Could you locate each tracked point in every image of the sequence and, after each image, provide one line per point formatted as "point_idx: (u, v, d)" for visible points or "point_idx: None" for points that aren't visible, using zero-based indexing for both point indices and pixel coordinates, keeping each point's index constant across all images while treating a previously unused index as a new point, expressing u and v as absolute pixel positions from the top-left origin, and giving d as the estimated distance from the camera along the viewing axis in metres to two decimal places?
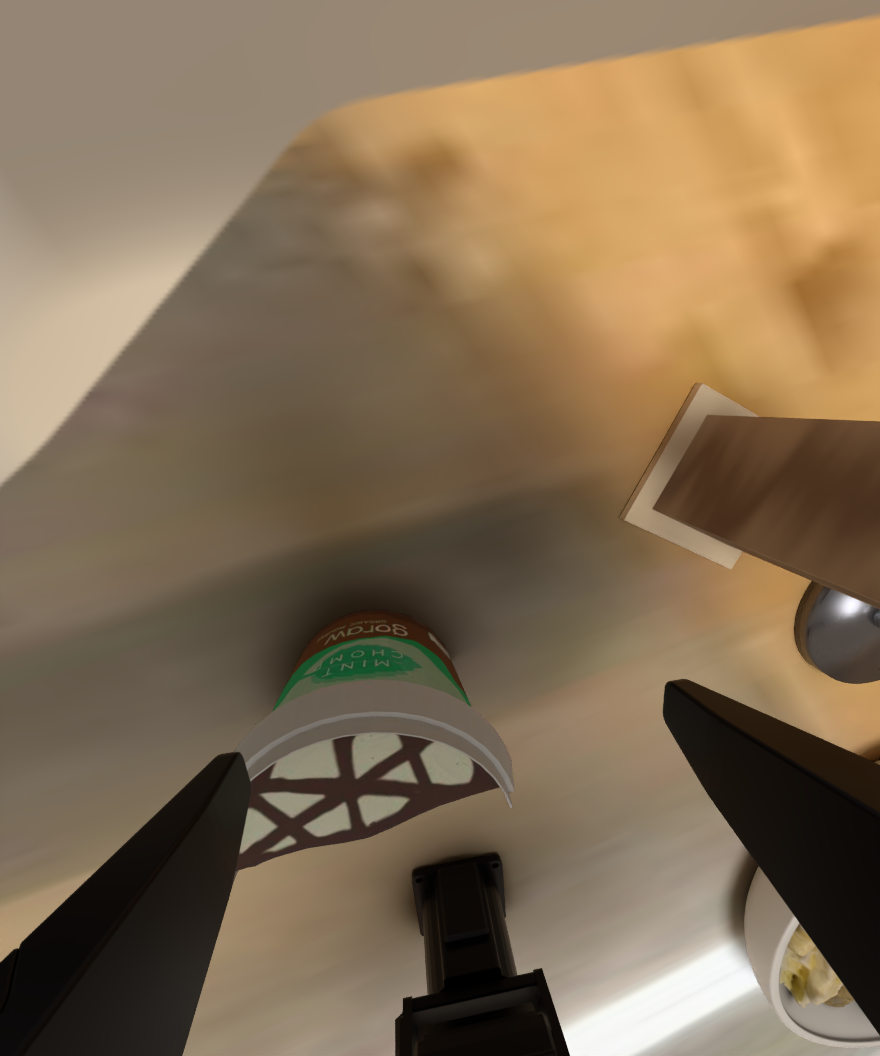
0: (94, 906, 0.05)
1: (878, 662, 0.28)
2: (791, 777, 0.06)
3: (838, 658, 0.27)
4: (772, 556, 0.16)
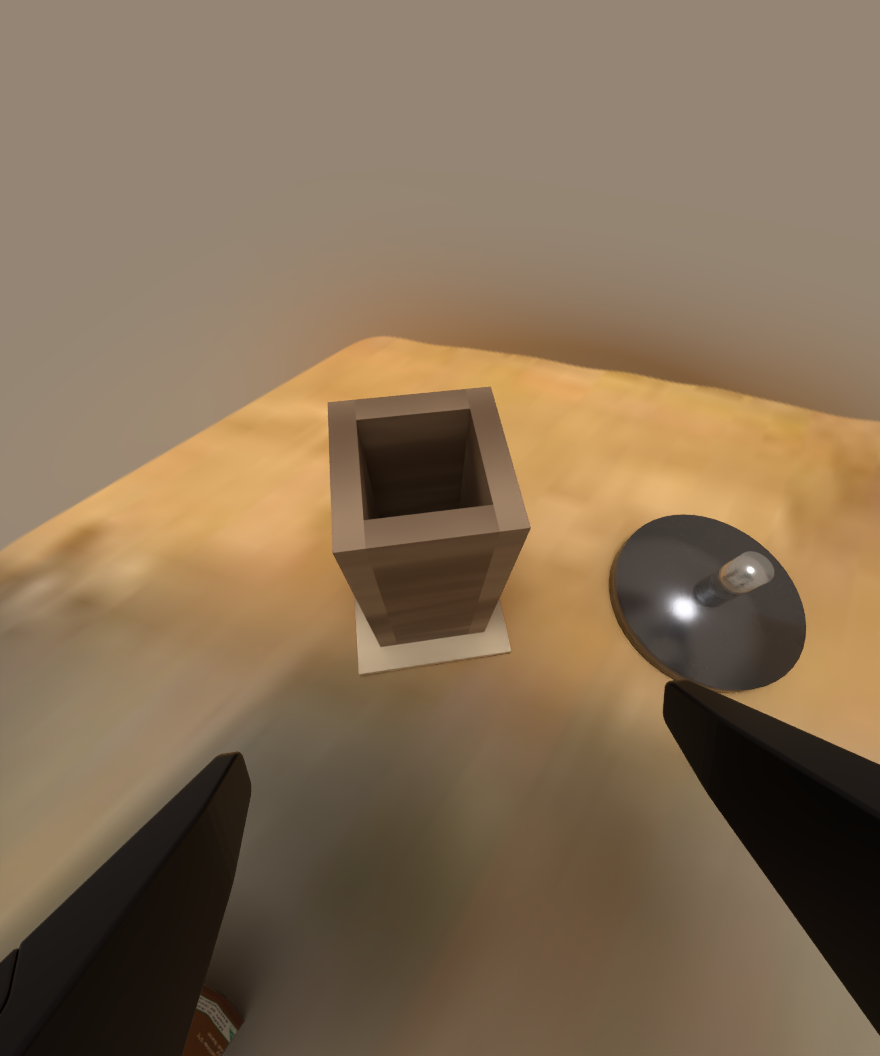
0: (94, 906, 0.05)
1: (769, 638, 0.22)
2: (791, 777, 0.06)
3: (722, 663, 0.21)
4: (357, 600, 0.15)
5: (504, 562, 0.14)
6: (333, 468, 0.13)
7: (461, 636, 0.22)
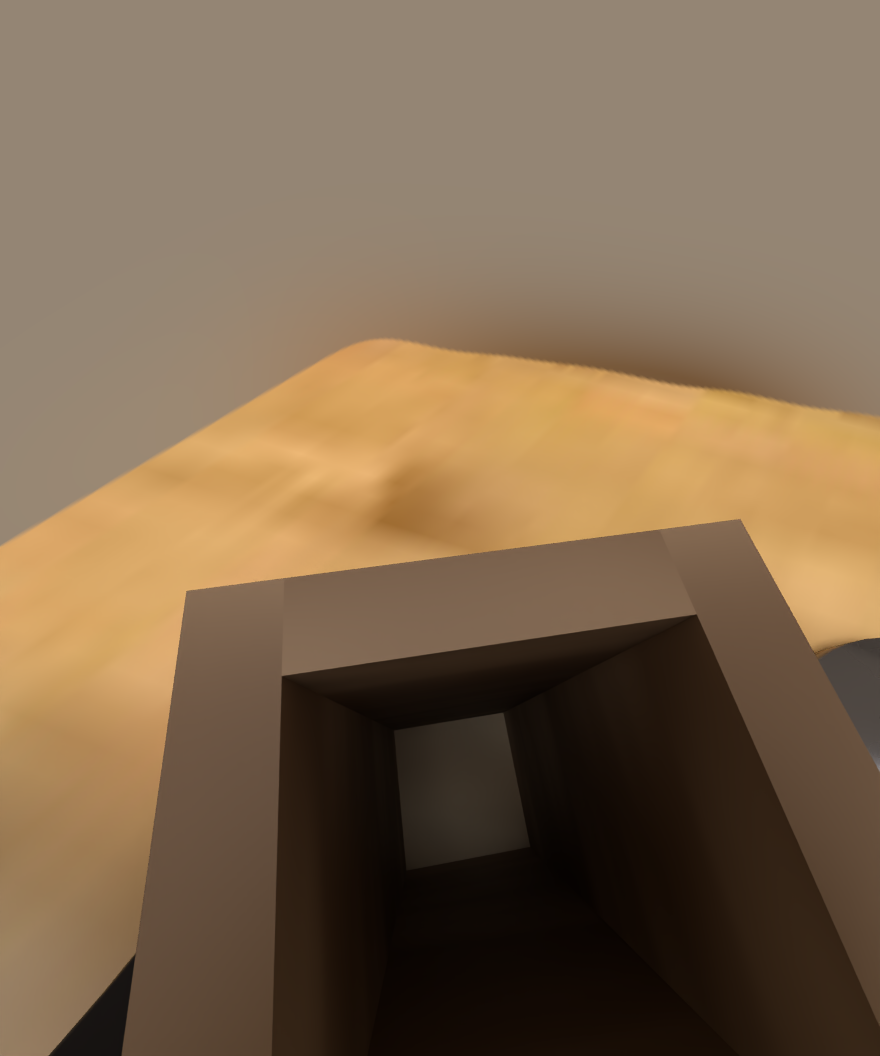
0: None
1: None
2: None
3: None
4: None
5: None
6: (148, 993, 0.03)
7: None
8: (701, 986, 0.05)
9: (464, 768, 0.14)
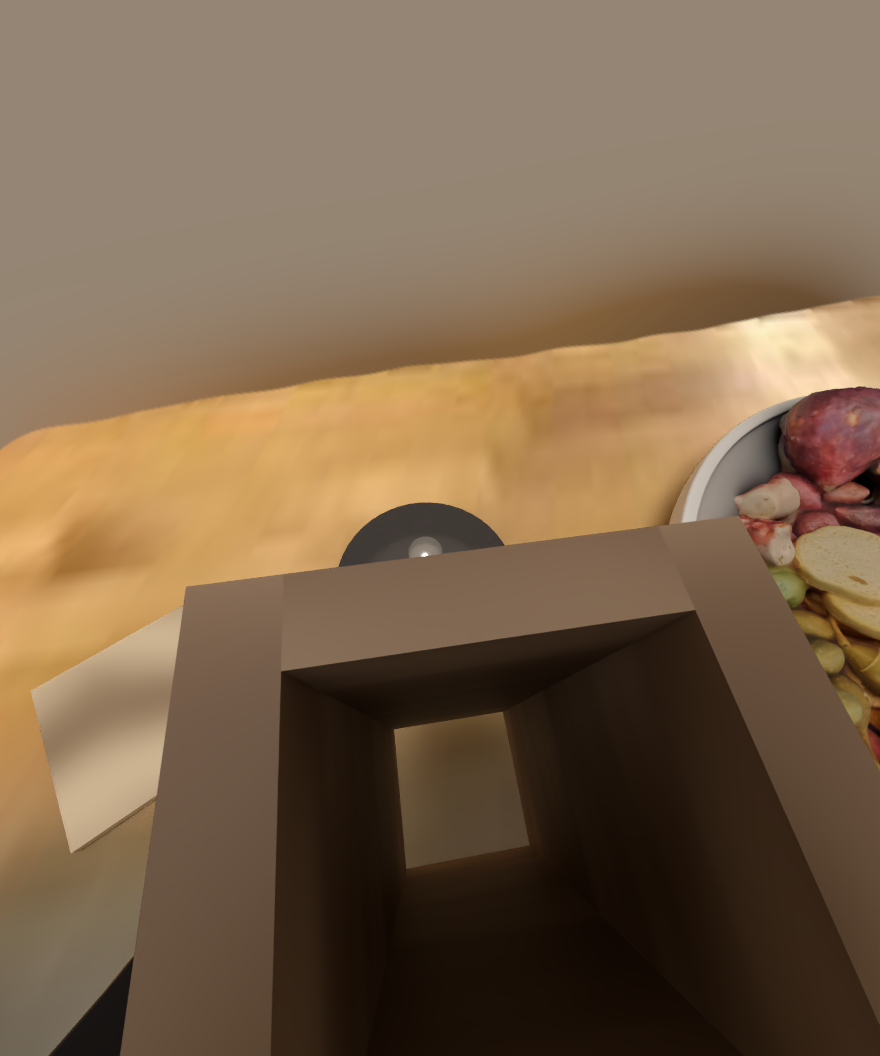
0: None
1: None
2: None
3: None
4: None
5: None
6: (147, 986, 0.03)
7: None
8: (700, 982, 0.05)
9: (139, 700, 0.21)
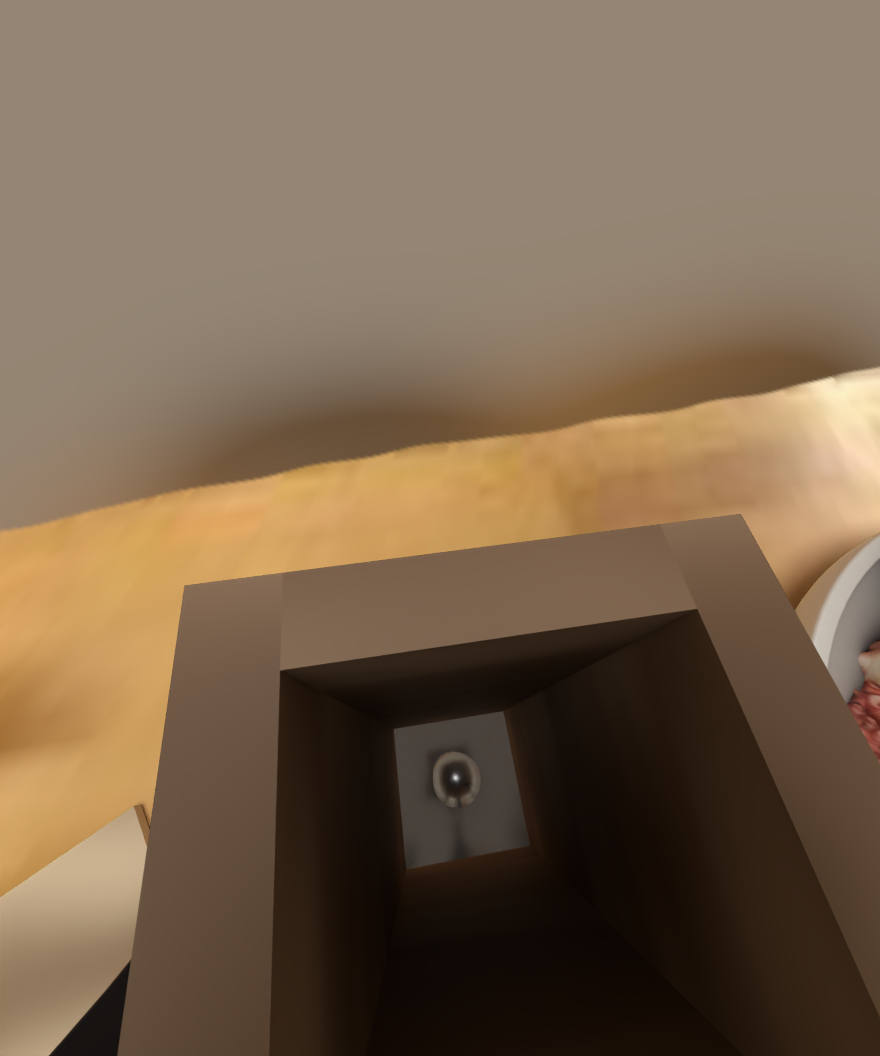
0: None
1: None
2: None
3: None
4: None
5: None
6: (145, 988, 0.03)
7: None
8: (701, 983, 0.05)
9: (58, 975, 0.15)
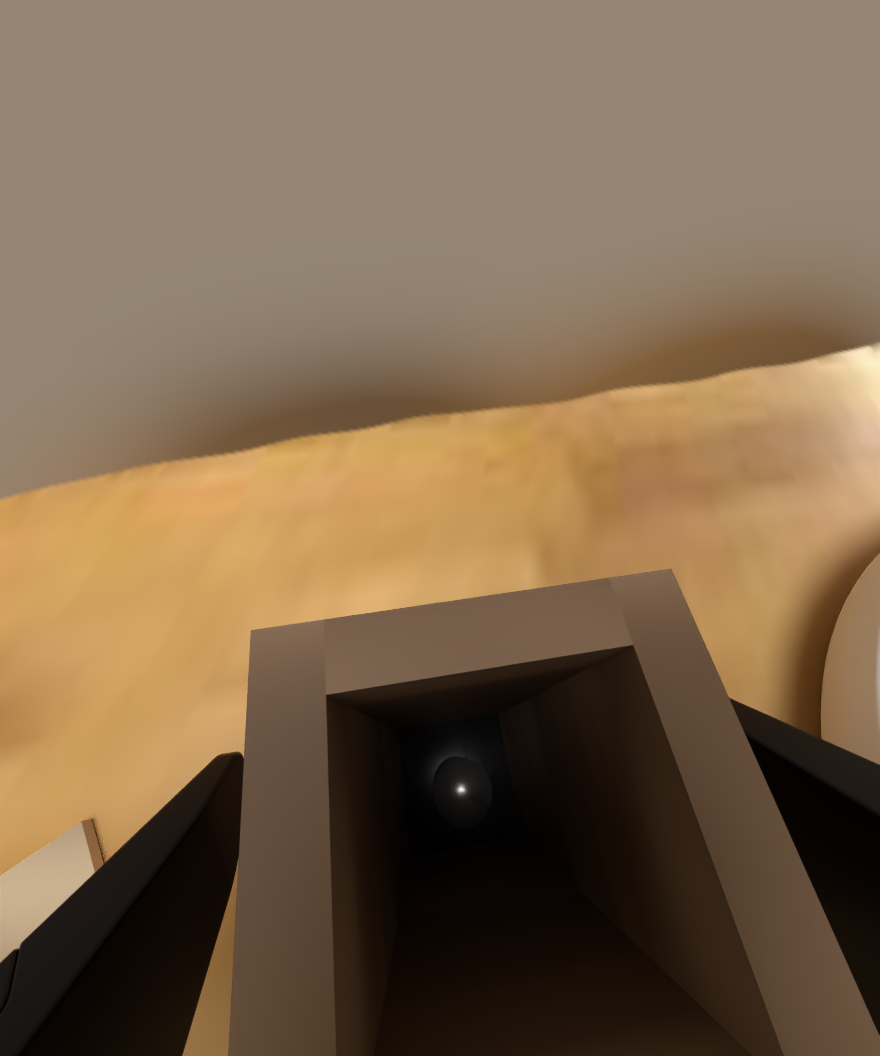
0: (94, 906, 0.05)
1: None
2: (792, 778, 0.06)
3: None
4: None
5: None
6: (247, 913, 0.04)
7: None
8: (645, 929, 0.06)
9: None
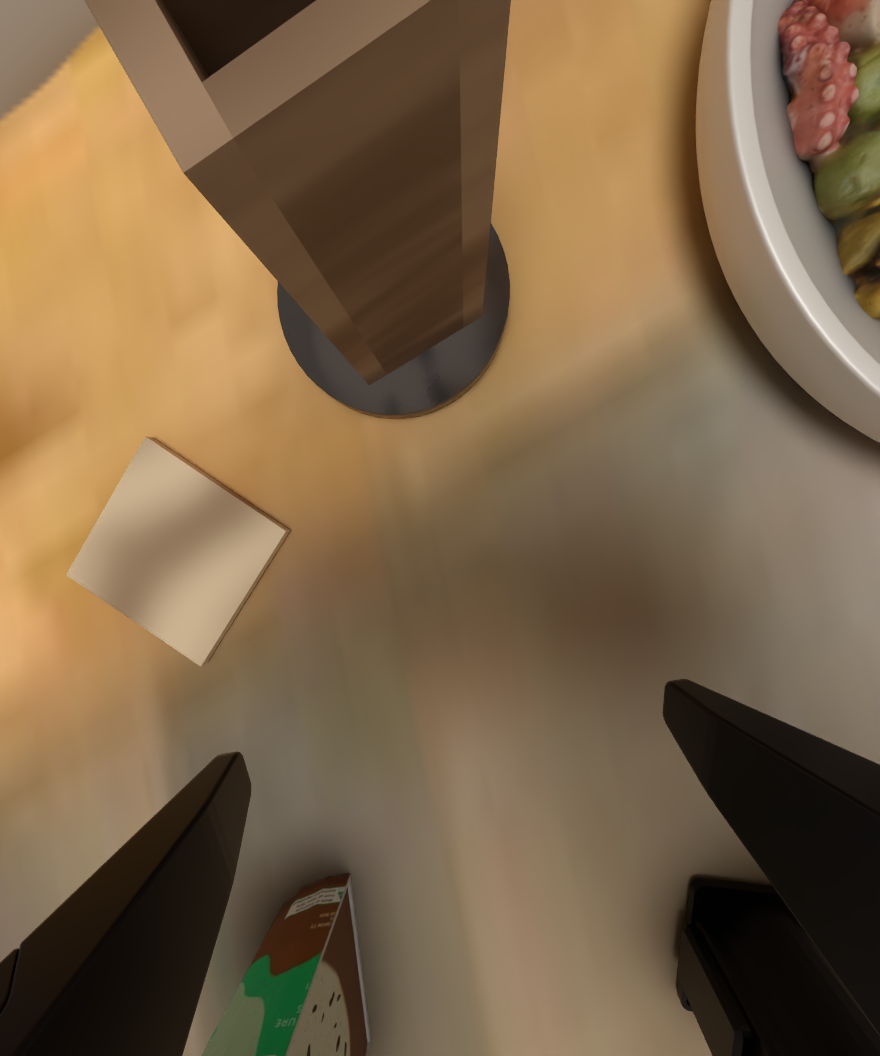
0: (94, 906, 0.05)
1: None
2: (791, 777, 0.06)
3: (449, 362, 0.18)
4: (298, 302, 0.10)
5: (483, 115, 0.08)
6: None
7: (239, 560, 0.20)
8: None
9: (168, 543, 0.20)
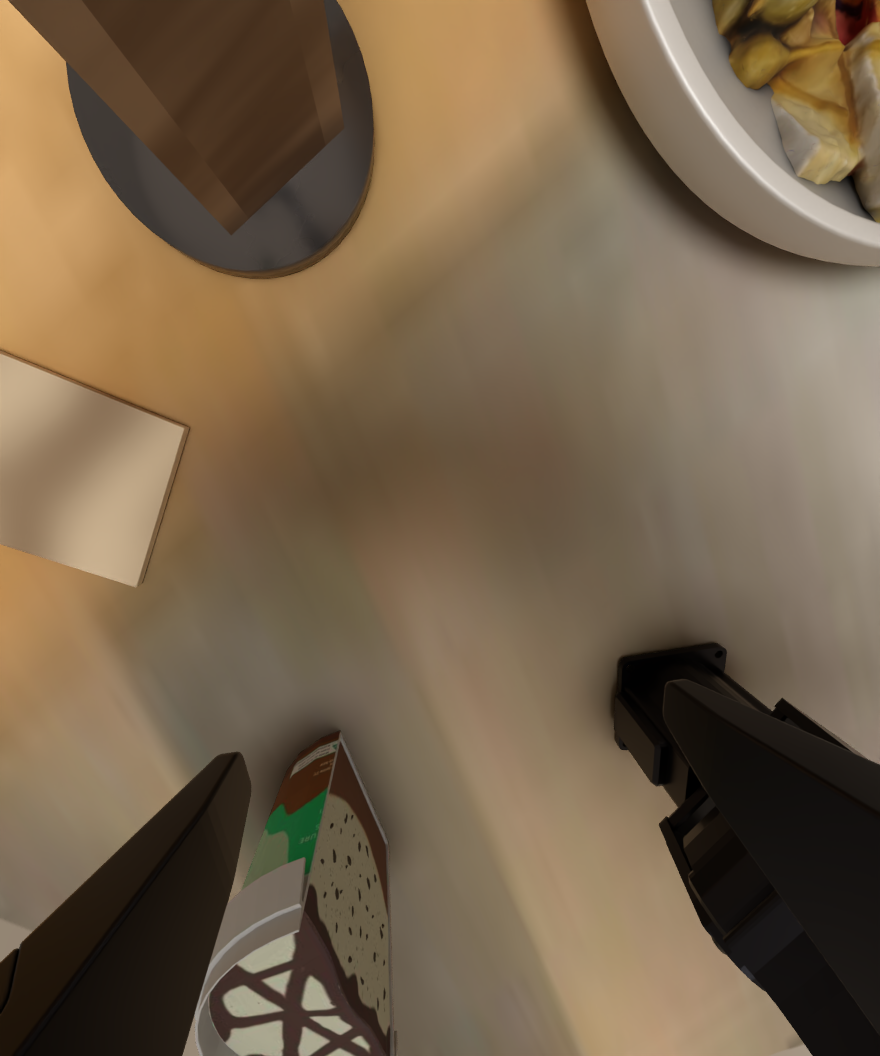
0: (94, 906, 0.05)
1: None
2: (792, 778, 0.06)
3: (318, 194, 0.16)
4: (89, 85, 0.08)
5: None
6: None
7: (141, 470, 0.18)
8: None
9: (50, 466, 0.18)
